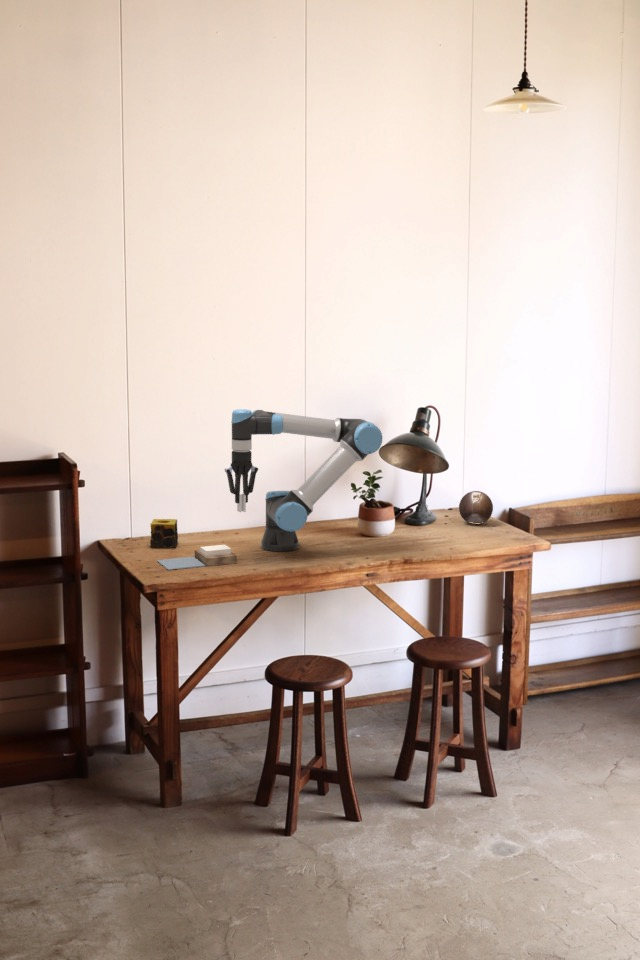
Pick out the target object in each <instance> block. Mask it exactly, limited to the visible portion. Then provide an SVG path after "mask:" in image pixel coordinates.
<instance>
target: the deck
mask: <svg viewBox="0 0 640 960" xmlns="http://www.w3.org/2000/svg"><path fill="white" fill-rule="evenodd" d="M194 557H195V558H196V559H198V560H199V561H200V562H201V563H203V564H204V565H205V567H215V566H225V565H226V566H227V565H234V564H238V555H237V554H236V553H233V552H232V551H231V554H224V555H214V556H205V555H204V554H202V553H201V552H200V549H195V550H194Z"/></svg>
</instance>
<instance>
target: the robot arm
mask: <svg viewBox="0 0 640 960" xmlns="http://www.w3.org/2000/svg"><path fill="white" fill-rule="evenodd" d="M282 433H283V434H292V435H297V436H299V435H300V436H306V437H315V438H321V439H322V438H323V439H329V440H330V439H332V441H333V442H335V443H340V445H339V447H338V448H337V449H336V450H335V451H334V452H333V453H332V454H331V455H330V456H329V457H328V458H327V459H326V460H325V461H324V462H323V463H322V464H321V465H319V467H318V468H317V469H316V470H315V471H314V472H313V474H311V475H310V476H309V477H308V478H307V479H306V480H305V482H303V483H302V485H300V487H299V488H297V489H291V490H272V491H267V492H266V494H265V529H264V533H263V535H262V538H261V541H260V545H261V546H260V547H261V549H263V550H265V551H270V552H289V551H290V552H291V550H292V551H295V549H296V550H298V549H299V548H298V547H300V545H299V544H300V542H299V538H298V535H297V533H296V531H299V530H301V529H302V528H303V527H304V526H305V524H306V523H307V519H308V517H309V516H310V514H312V513H313V511H314V506H315V504H316V503H317V502H318V501H319V500H320V499H321V498H322V497H323V496H324V495H325V494H326V493H327V492H328V491H329V490H330V488H331V487H333V485H334V484H336V482H338V480H339V479H340V478H341V477H342V476H343V475H344V474H345V473H346V472H347V471H348V470H350V468H351V467H352V466H353V465H354V464H355V463H356V462H362V461H364V459H365V458H367V456H369V455H372V454H375V453H376V452H377V451H378V450H379V449H380V448H381V446H382V444H383V433H382V430H381V429H380V428H379V427H378V426H377V425H376V424H375V423H373V422H369V421H367V420H364V419H362V418H343V417H342V418H341V417H336V418H335V419H328V418H321V417H312V416H306V415H305V416H304V415H298V414H297V415H296V414H290V413H282V412H281V413H280V412H272V411H264V410H263V409H256V410H253V411H252V410H251V409H242V408H239V409H234V410H233V411H232V412H231V450H232V451H231V463H230V466H229V467H228V468H224V472H225V474H226V476H227V481H228V488H229V492H230V493H231V494H232V495H234V503H235V504H236V509H237V510H236V511H237V512H238V513H242V512H243V513H245V512H246V511H247V509H246V507H247V506H246V504H247V503H248V501H249V495H250V494H251V493H253V491H254V487H255V482H256V475H257V473H258V471H259V467H256V466H254V465H253V462H252V451H251V450H252V445H253V444H252V437H253V436H254V435H256V436H257V435H272V436H274V435H281V434H282ZM252 435H253V436H252ZM233 472H234V477H235V478H234V479H233ZM249 472H250V475H249ZM248 478H249V479H248ZM241 479H242V492H243V493H241ZM240 493H241V494H240ZM297 548H298V549H297Z"/></svg>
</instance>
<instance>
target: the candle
mask: <svg viewBox="0 0 640 960" xmlns="http://www.w3.org/2000/svg"><path fill="white" fill-rule="evenodd" d="M178 538H179V535H178V519H177V518H176V519H175V518H173V519H172V518H153V519H152V521H151V523H150V542H149V543H150V548H151V549H173V548H174V549H176V548H177V546H178V543H179V541H178Z"/></svg>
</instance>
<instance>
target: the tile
mask: <svg viewBox="0 0 640 960" xmlns="http://www.w3.org/2000/svg"><path fill="white" fill-rule="evenodd" d="M199 550H200V552H201V553H202V554H204V555H205V556H214V555H224V554H231V552H232V548H231V547H230V546H228V545H226V544H219V545H218V544H215V545H207V546H200V547H199Z"/></svg>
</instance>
